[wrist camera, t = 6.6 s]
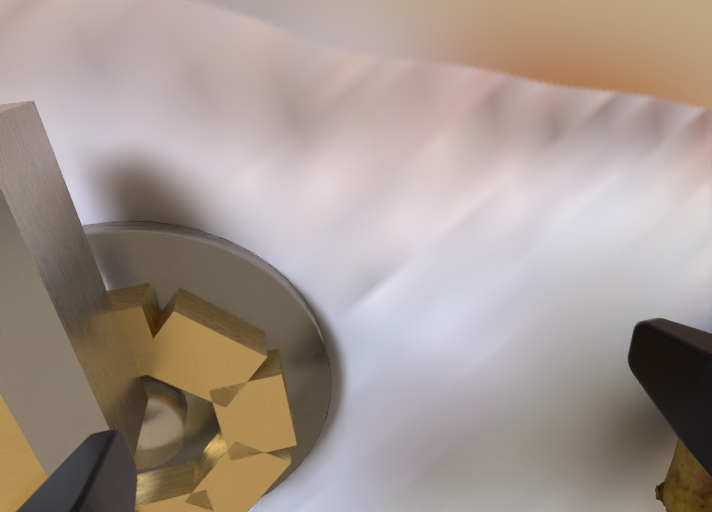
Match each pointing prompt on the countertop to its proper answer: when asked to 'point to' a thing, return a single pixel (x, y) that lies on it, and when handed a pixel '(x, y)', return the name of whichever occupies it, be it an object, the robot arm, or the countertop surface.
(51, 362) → the tan curved piece
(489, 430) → the countertop surface
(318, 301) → the countertop surface
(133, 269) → the round metal dish
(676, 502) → the potato
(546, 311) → the countertop surface
